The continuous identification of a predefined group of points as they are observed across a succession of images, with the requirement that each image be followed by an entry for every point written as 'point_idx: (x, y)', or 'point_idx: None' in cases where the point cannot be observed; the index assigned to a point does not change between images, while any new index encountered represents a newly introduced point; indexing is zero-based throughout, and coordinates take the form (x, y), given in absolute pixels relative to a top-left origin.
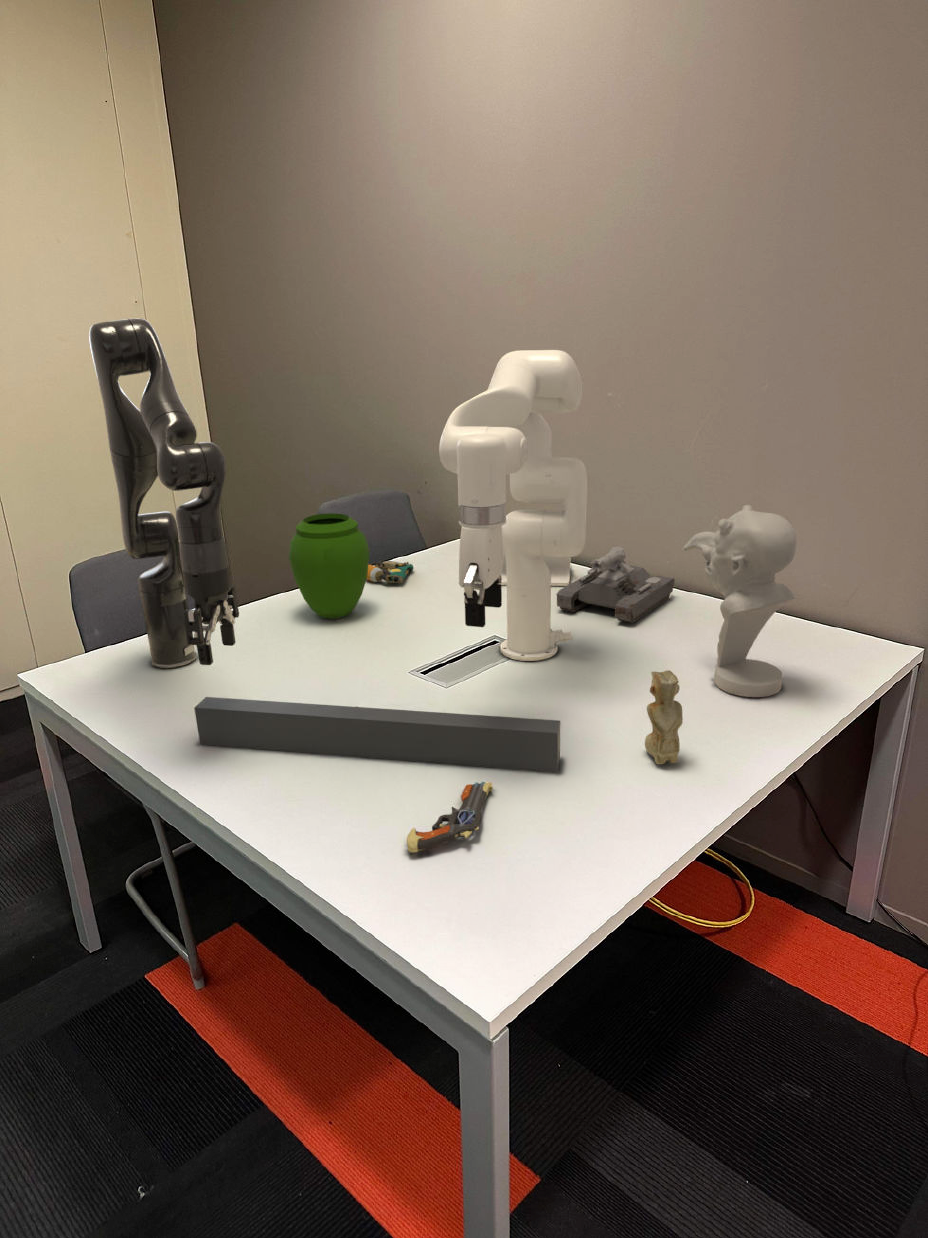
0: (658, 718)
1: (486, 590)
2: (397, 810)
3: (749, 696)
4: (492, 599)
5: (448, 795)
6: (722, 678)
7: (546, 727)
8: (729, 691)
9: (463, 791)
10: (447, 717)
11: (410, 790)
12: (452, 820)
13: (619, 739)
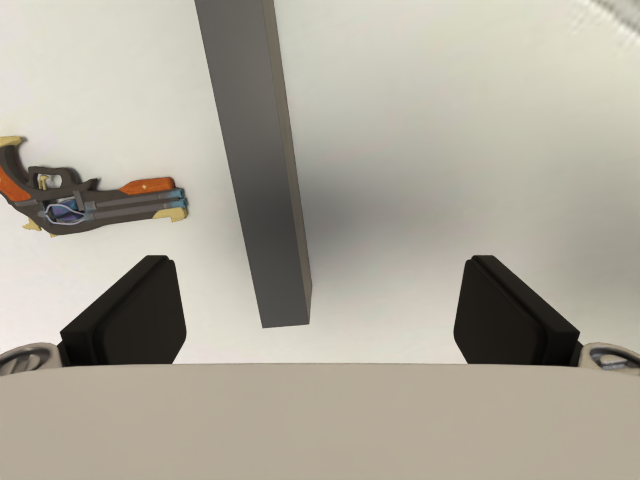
0: None
1: (509, 331)
2: (71, 80)
3: None
4: (474, 328)
5: (150, 151)
6: None
7: (275, 308)
8: None
9: (144, 181)
10: (254, 110)
11: (135, 79)
12: (49, 196)
13: (390, 348)
